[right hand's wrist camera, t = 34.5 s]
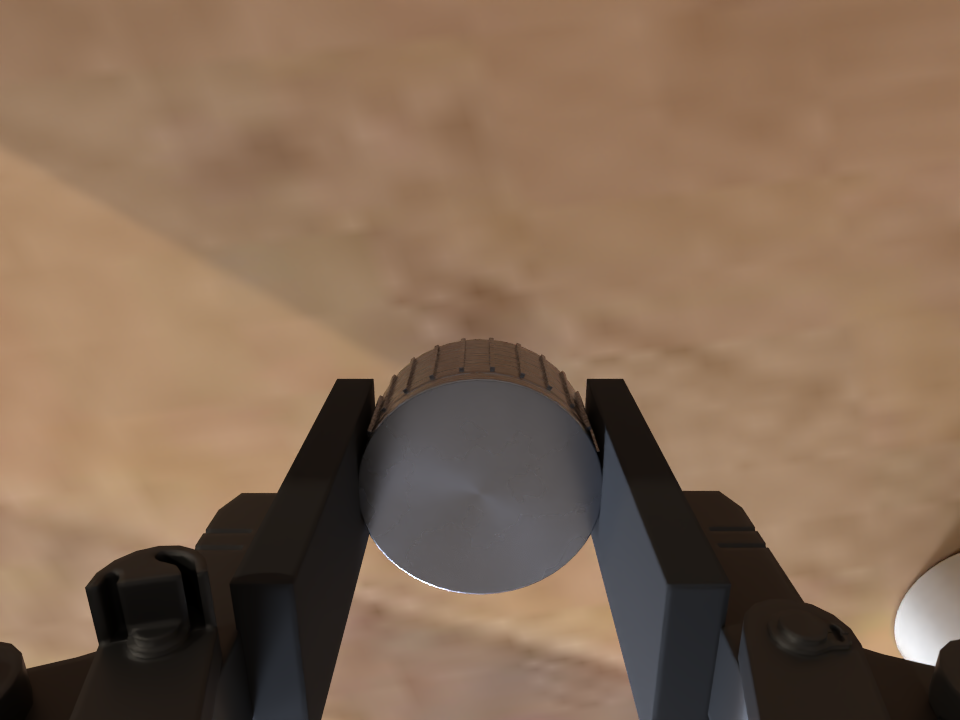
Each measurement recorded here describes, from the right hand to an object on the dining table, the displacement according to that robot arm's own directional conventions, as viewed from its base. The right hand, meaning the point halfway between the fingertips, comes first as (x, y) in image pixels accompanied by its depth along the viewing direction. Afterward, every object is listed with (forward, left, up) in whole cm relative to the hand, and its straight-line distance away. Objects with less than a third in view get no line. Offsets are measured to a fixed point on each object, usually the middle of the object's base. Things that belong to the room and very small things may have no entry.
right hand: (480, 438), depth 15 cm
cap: (0, 0, +2) cm, 2 cm away
